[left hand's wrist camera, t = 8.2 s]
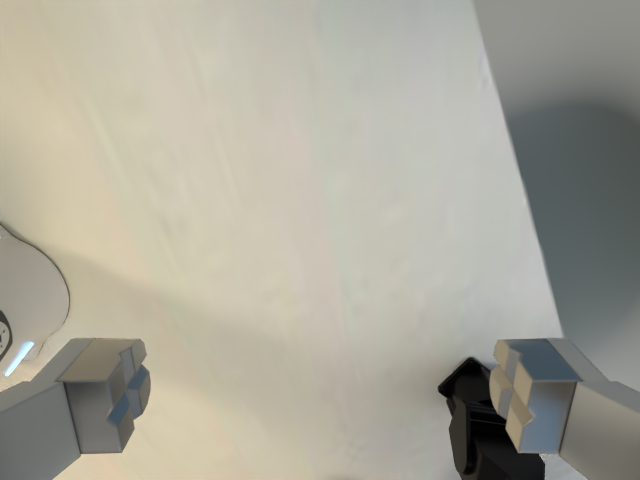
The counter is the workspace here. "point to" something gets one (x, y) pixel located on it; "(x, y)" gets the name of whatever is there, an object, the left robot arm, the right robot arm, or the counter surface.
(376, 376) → the counter surface
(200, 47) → the counter surface
